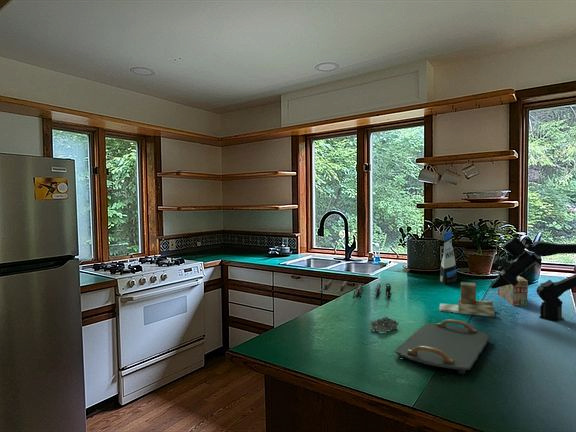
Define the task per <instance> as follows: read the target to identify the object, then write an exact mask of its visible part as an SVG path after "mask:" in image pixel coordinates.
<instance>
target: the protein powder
mask: <svg viewBox="0 0 576 432" xmlns="http://www.w3.org/2000/svg"><path fill="white" fill-rule="evenodd" d="M452 236H453V234H452V229H451V230H449V231H447V232H445V233H443V255H442V259H441V263H440V273H439V282H440V283H441V284H442V285H449V284H450V285H451V284H455V283H456V282H457V281H458V280H457V278H458V276H457V265H456V258H455V257H456V256H455V252H454V247H453V245H452V241H453V239H452Z"/></svg>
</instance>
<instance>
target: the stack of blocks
mask: <svg viewBox="0 0 576 432" xmlns="http://www.w3.org/2000/svg"><path fill="white" fill-rule="evenodd" d="M497 278H498V276H497V277H496V279H497ZM517 280H518V284H517V285H516V286H513V285H512V284H511V285H506V286H502V287H498V288H497V295H498V296H499V297H501V298H502V299H503V300H505V301H506V302H508V304H510V305H511V306H514V307H528V302H529V301H528V283H529V280H527V279H525V278H524V277H523V276H520V275H519V276H518V277H517Z"/></svg>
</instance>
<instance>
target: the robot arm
mask: <svg viewBox="0 0 576 432" xmlns="http://www.w3.org/2000/svg"><path fill="white" fill-rule="evenodd" d="M502 248H503V249H504V250H505V251H506V252H508V254H510V255H511V256H512V257H514V256H515V257H516V258H515V259H513V260H512V259H511V260H510V261H509V260H508V259H507V258H505V257H503V256H502V257H500V256H498V255H496V256H495V258H494V260H493V264H494V265H496V266H498V267H497V270H498V272H497V277H498V278H497V277H496V279H495V281H493V283H492V284H491V286H490V287H491V289H493V290H495V289H498V287H502V286H506V285H511V284H512V285H513V286H516V285H517V284H518V280H517V277H518V276H520V275H522V274H525V273H526V271H527V270H528V269H529V268H531V267H532V266H533V265H534V264H536V263H537V264H538V266H542V258H543V257H548V256H549V257H550V256H554V255H559V254H576V243H555V242H553V243H552V242H548V241H542V240H541V241H540V240H537V241H534V242H533V243H528V244H524V243H523V242H522V241H521V240H520V239H519V237H517V236H513V237H512V238H510V239H509V240H507V241H506V242H504V243H503V244H502ZM527 251H528V252H530V253H528V252H527ZM537 256H539V257H537ZM541 257H542V258H541ZM539 284H540V285H538V286H537V288H536V295H537V296H538V297H539V298H540V299H541V300H542V302H541V305H540V310H539V311H540V312H539V313H540V315H539V316H538V317H539V318H541V319H544V320H548V321H552V322H558V321H562V320H564V319H565V317H563V313H562V312H563V301H562V300H561V299H560V298H559V297H561V296H562V295H563V294H564V293H565V292H567V291H569V290H571V289H574V288H576V273H575V274H573V275H570V276H569V277H566V278H563V279H561V280H559V281H552V280H551V279H548V280H546V281H545V282H542V283H539Z"/></svg>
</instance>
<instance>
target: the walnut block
mask: <svg viewBox="0 0 576 432" xmlns="http://www.w3.org/2000/svg"><path fill="white" fill-rule="evenodd" d="M460 299H461V304H473V305H476V300H477V285H476V282H469V281H468V282H466V281H465V282H464V281H461V282H460Z"/></svg>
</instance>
